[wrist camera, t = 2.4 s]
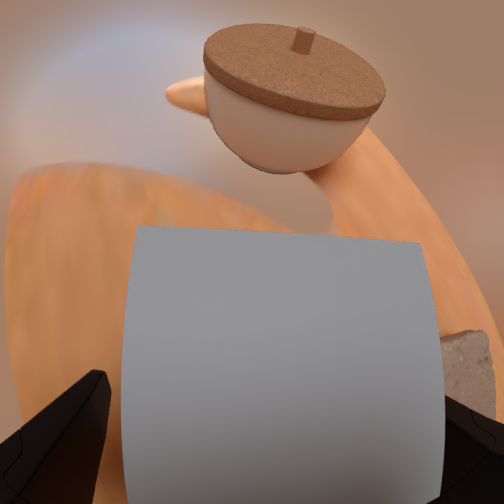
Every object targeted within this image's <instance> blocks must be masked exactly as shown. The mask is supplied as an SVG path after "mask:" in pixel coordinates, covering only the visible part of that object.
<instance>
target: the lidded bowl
mask: <svg viewBox="0 0 504 504" xmlns="http://www.w3.org/2000/svg"><path fill="white" fill-rule="evenodd" d="M203 61H204V65H205V72H204V94H205V102H206V106H207V111H208V115H209V119H210V121H211V123H212V125H213V127H214V129H215V131H216V133H217V135H218V136H219V137H220V139H221V140H222V141H223V142H224V144H225V145H226V146H227V147H228V148H229V149H230V150H231V151H232V152H234V153H235V154H236V155H238V156H239V157H240V158H241V159H242V160H243V161H244V162H245V163H247V164H248V165H250V166H252V167H254V168H256V169H258V170H260V171H264V172H267V173H272V174H291V173H296V172H305V171H310V170H313V169H316V168H319V167H322V166H325V165H327V164H328V163H330V162H332V161H334V160H335V159H337V158H338V157H340V156H341V155H342V154H343V153H344V152H345V151H346V150H347V149H348V148H349V147H350V146H351V145H352V144H353V143H354V142H355V141H356V140H357V138H358V137H359V136H360V135H361V133H362V132H363V130H364V129H365V127H366V126H367V124H368V122H369V120H370V119H371V117H372V115H373V114H374V113H375V112H376V111H377V110H378V109H379V107H380V105H381V103H382V102H383V100H384V97H385V92H386V90H385V86H384V82H383V80H382V79H381V77H380V76H379V74H378V73H377V72H376V70H375V69H374V68H373V67H372V66H371V65H370V64H369V63H368V62H366V61H365V60H364V59H363V58H362V57H360V56H359V55H357V54H356V53H354V52H353V51H351V50H350V49H348V48H346V47H345V46H343V45H341V44H339V43H337V42H335V41H332V40H331V39H328V38H326V37H324V36H321V35H318V34H316V32H315V31H314V30H312V29H310V28H306V27H298V28H293V27H288V26H283V25H275V24H259V23H258V24H244V25H236V26H231V27H228V28H224V29H221V30H219V31H217V32H216V33H214V34H213V35H211V37H209V38H208V40H207V41H206V43H205V46H204V55H203Z"/></svg>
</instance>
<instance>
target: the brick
mask: <svg viewBox="0 0 504 504" xmlns="http://www.w3.org/2000/svg"><path fill="white" fill-rule="evenodd" d="M440 345H441V354H442V364H443V376H444V393H445V395H447V396H449V397H450V398H452V399H454V400H456V401H458V402H459V403H461V404H463V405H465V406H467V407H469V409H472V410H474V411H476V412H478V413H480V414H482V415H484V416H486V417H488V418H490V419H493V420H495V421H496V409H495V405H496V390H495V375H494V370H493V369H492V363H493V361H492V356H491V353H490V351H489V339H488V336H487V334H486V333H485V332H484V331H482V330H478V331H474V330H465V331H462V332H459V333H456V334H453V335H448V336H446V337H444V338H440Z"/></svg>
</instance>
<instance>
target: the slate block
mask: <svg viewBox="0 0 504 504" xmlns="http://www.w3.org/2000/svg"><path fill="white" fill-rule="evenodd" d="M121 435H122V453H123V466H124V476H125V485H126V494H127V501H128V504H426V503H428V502H430V501H432V500H434V499H436V498H437V497H439V496H440V489H441V481H442V472H443V461H444V445H445V393H444V376H443V364H442V354H441V345H440V338H439V330H438V324H437V317H436V312H435V306H434V301H433V295H432V290H431V286H430V281H429V277H428V272H427V268H426V264H425V260H424V256H423V252H422V248H421V245H420V243H411V242H400V241H388V240H376V239H363V238H350V237H337V236H323V235H308V234H293V233H277V232H260V231H243V230H224V229H204V228H182V227H158V226H137V232H136V237H135V243H134V249H133V255H132V262H131V268H130V275H129V283H128V291H127V300H126V309H125V319H124V331H123V345H122V365H121Z"/></svg>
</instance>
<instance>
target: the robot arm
mask: <svg viewBox="0 0 504 504" xmlns="http://www.w3.org/2000/svg"><path fill="white" fill-rule="evenodd" d="M110 401H111V387H110V384H109V381H108V378H107V374H106V372H105V371H102V370H95V369H93V370H91V371H90V372H89V373H87V374H86V375H85V376H84V377H82V378H81V379H80V380H79V381H77V382H76V383H75V384H74V385H72V386H71V387H70V388H69V389H68V390H66V391H65V392H64V393H63V394H61V395H60V396H59V397H58V398H56V399H55V400H54V401H53V402H52V403H50V404H49V405H48V406H47V407H45V408H44V409H43V410H42V411H40V412H39V413H38V414H37V415H36V416H34V417H33V418H32V419H31V420H29V421H28V422H27V423H26V424H25V425H23V426H22V427H21V430H20V429H19V430H17V431H16V432H15V433H14V434H12V435H11V436H10V437H8V438H7V439H6V440H5V441H3V442H2V443H1V444H0V504H92V502H93V496H94V491H95V485H96V480H97V475H98V470H99V465H100V460H101V456H102V451H103V447H104V443H105V438H106V432H107V424H108V416H109V408H110ZM426 504H504V424H502V423H500V422H497V421H495V420H493V419H490V418H488V417H486V416H484V415H482V414H480V413H478V412H476V411H474V410H472V409H469V407H467V406H465V405H463V404H461V403H459V402H458V401H456V400H454V399H452V398H450V397H449V396H447V395H445V445H444V461H443V472H442V481H441V489H440V496H439V497H437V498H436V499H434V500H432V501H430V502H428V503H426Z"/></svg>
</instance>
